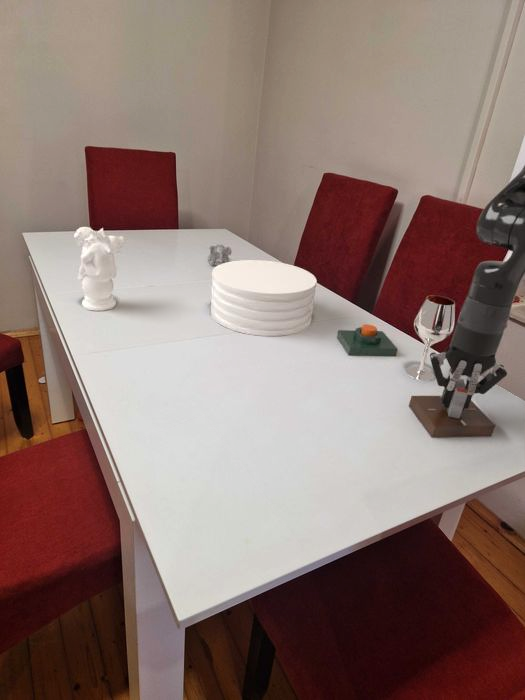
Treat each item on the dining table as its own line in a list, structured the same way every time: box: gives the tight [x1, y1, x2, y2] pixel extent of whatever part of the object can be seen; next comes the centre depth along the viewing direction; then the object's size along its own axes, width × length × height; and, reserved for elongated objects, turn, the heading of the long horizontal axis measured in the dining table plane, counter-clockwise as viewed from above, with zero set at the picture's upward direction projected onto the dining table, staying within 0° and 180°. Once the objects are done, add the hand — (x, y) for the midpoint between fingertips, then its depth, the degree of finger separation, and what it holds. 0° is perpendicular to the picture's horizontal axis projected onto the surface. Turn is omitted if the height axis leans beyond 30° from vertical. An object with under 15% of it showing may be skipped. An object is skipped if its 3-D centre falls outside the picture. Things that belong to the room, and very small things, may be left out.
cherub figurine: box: [73, 226, 126, 312], centre depth 118 cm, size 12×12×22 cm
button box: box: [336, 326, 398, 357], centre depth 112 cm, size 12×10×4 cm
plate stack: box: [210, 259, 318, 337], centre depth 124 cm, size 28×28×12 cm
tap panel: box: [408, 395, 497, 438], centre depth 87 cm, size 12×10×3 cm
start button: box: [361, 323, 378, 336], centre depth 111 cm, size 4×4×2 cm
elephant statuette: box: [207, 244, 233, 266], centre depth 162 cm, size 9×12×8 cm
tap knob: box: [447, 378, 468, 419], centre depth 85 cm, size 6×2×6 cm, turn 166°
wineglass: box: [405, 294, 456, 382], centre depth 99 cm, size 8×8×18 cm
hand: (453, 406), depth 86 cm, fingers closed on tap knob, 2 cm apart
